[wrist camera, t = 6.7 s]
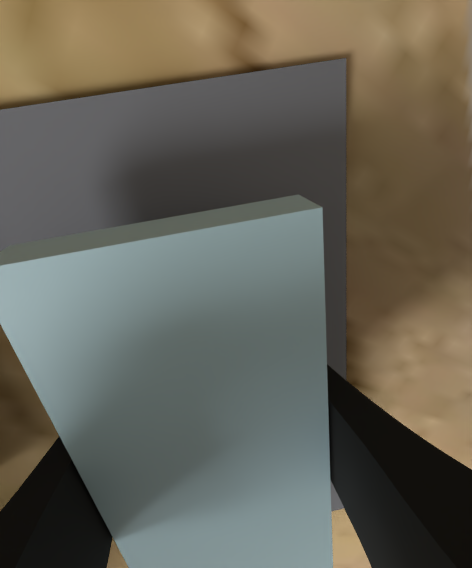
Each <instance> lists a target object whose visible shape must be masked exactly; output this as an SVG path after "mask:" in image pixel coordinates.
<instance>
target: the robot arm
mask: <svg viewBox="0 0 472 568" xmlns="http://www.w3.org/2000/svg"><path fill="white" fill-rule="evenodd" d="M327 381H328V415H329V450H330V480H331V482H332V484H333V486H334V488H335V490H336V492H337V494H338V496H339V498H340V500H341V502H342V504H343V506H344V508H345V511H346V513H347V515H348V517H349V519H350V521H351V523H352V525H353V527H354V529H355V531H356V533H357V535H358V537H359V539H360V542H361V544H362V546H363V548H364V551H365V553H366V555H367V557H368V560H369V562H370V564H371V567H372V568H472V470H471V469H470V468H468V467H466V466H465V465H463V464H462V463H460V462H458V461H457V460H455V459H453V458H452V457H450V456H449V455H447V454H445V453H444V452H442V451H441V450H439V449H438V448H436V447H435V446H433V445H432V444H430V443H429V442H427V441H426V440H424V439H423V438H421V437H420V436H419V435H417V434H416V433H414V432H413V431H411V430H410V429H408V428H407V427H406V426H404V425H403V424H401V423H400V422H399V421H397V420H396V419H395V418H393V417H392V416H391V415H389V414H388V413H387V412H385V411H384V410H383V409H381V408H380V407H379V406H378V405H376V404H375V403H374V402H372V401H371V400H370V399H368V398H367V397H366V396H365V395H363V394H362V393H361V392H360V391H359V390H357V389H356V388H355V387H354V386H353V385H351V384H350V383H349V382H348V381H347V380H345V379H344V378H343V377H342V376H341V375H339V374H338V373H337V372H336V371H335V370H334V369H332V368H331V367H330V366H329V365H328V364H327ZM111 542H112V535H111V533H110V531H109V529H108V527H107V525H106V523H105V522H104V520H103V518H102V516H101V514H100V512H99V510H98V508H97V506H96V504H95V503H94V501H93V499H92V497H91V495H90V493H89V491H88V489H87V487H86V486H85V484H84V482H83V480H82V478H81V476H80V474H79V472H78V470H77V468H76V467H75V465H74V463H73V461H72V459H71V457H70V455H69V453H68V451H67V449H66V448H65V446H64V444H63V442H62V440H61V438H60V436H59V437H58V439H57V440H56V441H55V443H54V444H53V445H52V447H51V448H50V449H49V451H48V452H47V453H46V455H45V456H44V457H43V458H42V460H41V461H40V462H39V464H38V465H37V466H36V468H35V469H34V470H33V471H32V473H31V474H30V475H29V477H28V478H27V479H26V480H25V482H24V483H23V484H22V486H21V487H20V488H19V489H18V491H17V492H16V493H15V494H14V496H13V497H12V498H11V499H10V501H9V502H8V503H7V504H6V505H5V507H4V508H3V509H2V510H1V511H0V568H107V563H108V557H109V552H110V547H111Z"/></svg>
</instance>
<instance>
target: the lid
mask: <svg viewBox="0 0 472 568" xmlns="http://www.w3.org/2000/svg"><path fill="white" fill-rule="evenodd" d="M0 324H1V326H2V328H3V330H4V332H5V334H6V336H7V338H8V339H9V341H10V343H11V345H12V347H13V349H14V351H15V353H16V355H17V357H18V358H19V360H20V362H21V364H22V366H23V368H24V370H25V372H26V374H27V375H28V377H29V379H30V381H31V383H32V385H33V387H34V389H35V391H36V393H37V394H38V396H39V398H40V400H41V402H42V404H43V406H44V408H45V410H46V412H47V413H48V415H49V417H50V419H51V421H52V423H53V425H54V427H55V429H56V430H57V432H58V434H59V436H60V438H61V440H62V442H63V444H64V446H65V448H66V449H67V451H68V453H69V455H70V457H71V459H72V461H73V463H74V465H75V467H76V468H77V470H78V472H79V474H80V476H81V478H82V480H83V482H84V484H85V486H86V487H87V489H88V491H89V493H90V495H91V497H92V499H93V501H94V503H95V504H96V506H97V508H98V510H99V512H100V514H101V516H102V518H103V520H104V522H105V523H106V525H107V527H108V529H109V531H110V533H111V535H112V537H113V539H114V541H115V542H116V544H117V546H118V548H119V550H120V552H121V554H122V556H123V558H124V560H125V561H126V563H127V565H128V567H129V568H333V553H332V519H331V484H330V450H329V415H328V381H327V347H326V312H325V278H324V243H323V209H322V207H321V206H319V205H317V204H315V203H313V202H312V201H310V200H308V199H306V198H304V197H302V196H301V195H299V194H298V195H293V196H287V197H281V198H276V199H270V200H264V201H259V202H253V203H247V204H242V205H236V206H230V207H225V208H219V209H213V210H208V211H202V212H197V213H191V214H185V215H180V216H174V217H168V218H163V219H157V220H151V221H146V222H140V223H134V224H129V225H123V226H117V227H112V228H106V229H100V230H95V231H89V232H83V233H78V234H72V235H67V236H61V237H55V238H50V239H44V240H38V241H33V242H27V243H21V244H16V245H10V246H8V247H6V248H5V249H4V250H2V251H1V252H0Z"/></svg>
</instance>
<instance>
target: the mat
mask: <svg viewBox="0 0 472 568" xmlns="http://www.w3.org/2000/svg"><path fill="white" fill-rule="evenodd" d="M298 194H299V195H301V196H302V197H304V198H306V199H308V200H310V201H312V202H313V203H315V204H317V205H319V206H321V207H322V209H323V243H324V278H325V312H326V347H327V364H328V365H329V366H330V367H331V368H332V369H334V370H335V371H336V372H337V373H338V374H339V375H341V376H342V377H343V378H344V379H345V380H346V58H343V59H337V60H330V61H323V62H316V63H310V64H303V65H296V66H290V67H283V68H276V69H270V70H263V71H256V72H250V73H243V74H236V75H230V76H223V77H216V78H209V79H203V80H196V81H189V82H183V83H176V84H169V85H163V86H156V87H149V88H143V89H136V90H129V91H123V92H116V93H109V94H102V95H96V96H89V97H82V98H76V99H69V100H62V101H56V102H49V103H42V104H36V105H29V106H22V107H16V108H9V109H2V110H0V252H1V251H2V250H4V249H5V248H6V247H8V246H10V245H16V244H21V243H27V242H33V241H38V240H44V239H50V238H55V237H61V236H67V235H72V234H78V233H83V232H89V231H95V230H100V229H106V228H112V227H117V226H123V225H129V224H134V223H140V222H146V221H151V220H157V219H163V218H168V217H174V216H180V215H185V214H191V213H197V212H202V211H208V210H213V209H219V208H225V207H230V206H236V205H242V204H247V203H253V202H259V201H264V200H270V199H276V198H281V197H287V196H293V195H298ZM330 484H331V511H335V510H339V509H343V508H344V506H343V504H342V502H341V500H340V498H339V496H338V494H337V492H336V490H335V488H334V486H333V484H332V482H331V480H330Z"/></svg>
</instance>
